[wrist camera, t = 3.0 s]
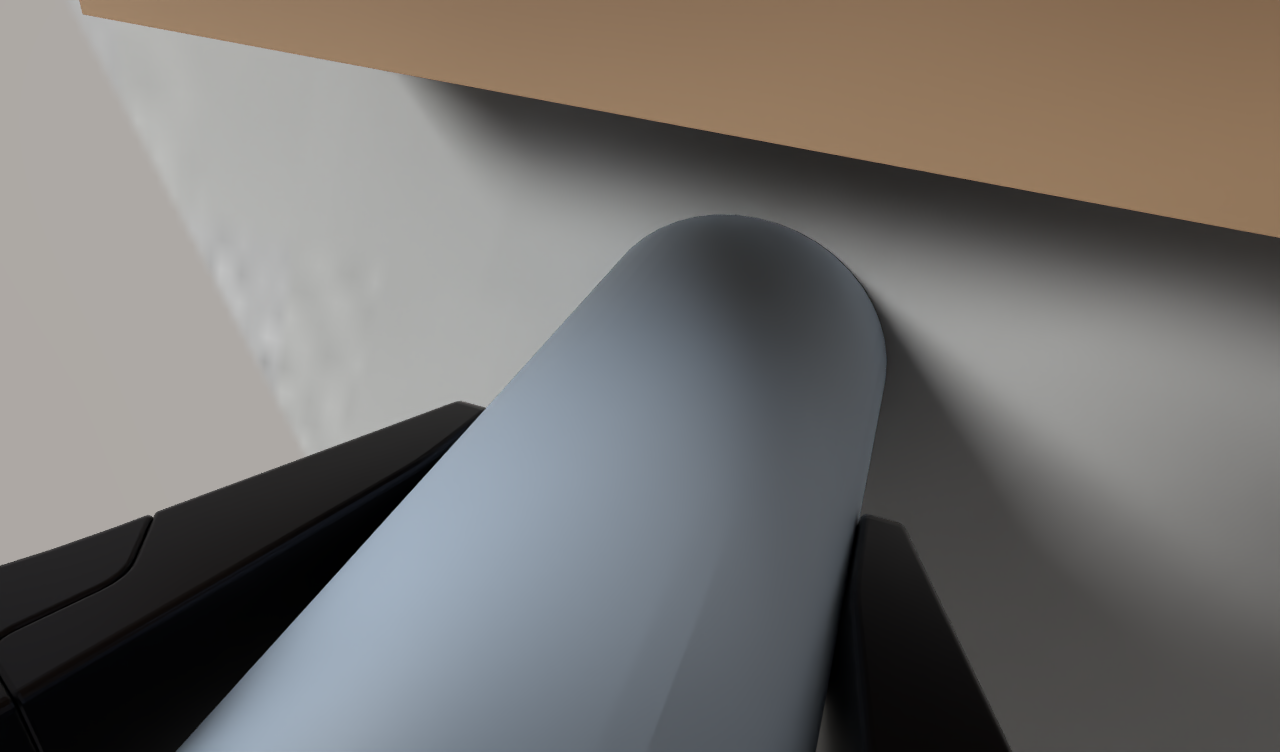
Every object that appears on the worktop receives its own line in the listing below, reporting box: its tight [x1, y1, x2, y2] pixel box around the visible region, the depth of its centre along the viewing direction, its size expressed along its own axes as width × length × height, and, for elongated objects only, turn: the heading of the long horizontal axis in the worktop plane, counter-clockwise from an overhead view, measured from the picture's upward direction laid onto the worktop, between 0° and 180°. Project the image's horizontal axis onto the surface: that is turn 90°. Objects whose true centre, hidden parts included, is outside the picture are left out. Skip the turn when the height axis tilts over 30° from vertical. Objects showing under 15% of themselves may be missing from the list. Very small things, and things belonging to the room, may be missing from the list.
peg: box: [176, 215, 887, 752], centre depth 8 cm, size 4×4×9 cm
